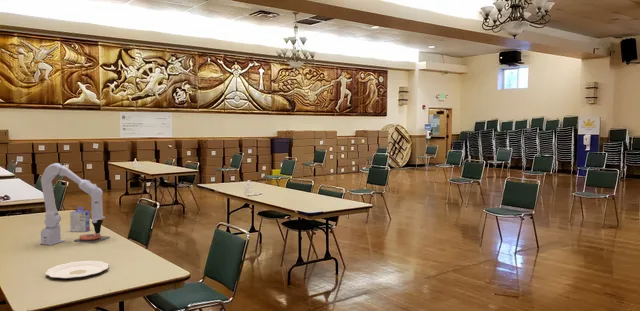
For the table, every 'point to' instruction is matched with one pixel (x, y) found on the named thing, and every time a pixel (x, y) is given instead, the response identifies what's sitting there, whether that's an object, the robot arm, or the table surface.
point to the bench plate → (93, 240)
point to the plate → (65, 269)
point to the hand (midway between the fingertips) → (97, 233)
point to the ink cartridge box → (79, 220)
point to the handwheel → (90, 236)
